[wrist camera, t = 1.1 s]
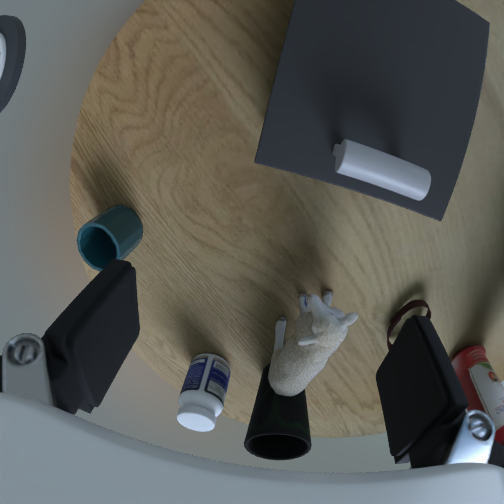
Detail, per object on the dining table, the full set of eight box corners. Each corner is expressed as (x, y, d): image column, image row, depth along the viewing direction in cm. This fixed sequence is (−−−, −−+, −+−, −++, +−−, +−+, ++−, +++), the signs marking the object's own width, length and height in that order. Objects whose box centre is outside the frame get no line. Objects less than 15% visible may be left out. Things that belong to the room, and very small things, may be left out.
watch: (403, 345, 35) (410, 364, 32) (375, 339, 35) (381, 359, 32) (434, 300, 32) (444, 318, 29) (405, 291, 32) (415, 309, 28)
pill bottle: (193, 374, 42) (175, 428, 33) (190, 348, 39) (168, 405, 30) (231, 381, 41) (219, 437, 33) (232, 355, 39) (217, 415, 30)
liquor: (490, 339, 34) (557, 486, 9) (468, 372, 37) (516, 514, 12) (459, 337, 34) (527, 507, 9) (436, 372, 37) (481, 532, 12)
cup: (244, 376, 41) (231, 448, 30) (275, 347, 37) (268, 425, 27) (288, 396, 42) (284, 464, 31) (321, 369, 38) (325, 444, 28)
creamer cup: (95, 221, 32) (68, 240, 27) (123, 195, 30) (96, 212, 26) (122, 256, 34) (99, 280, 29) (152, 233, 32) (130, 256, 27)
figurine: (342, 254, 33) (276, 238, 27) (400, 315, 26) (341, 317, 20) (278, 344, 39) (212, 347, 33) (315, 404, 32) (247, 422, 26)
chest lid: (436, 218, 19) (469, 247, 14) (255, 161, 19) (244, 177, 14) (484, 24, 11) (523, 14, 7) (309, -52, 11) (314, -89, 7)
